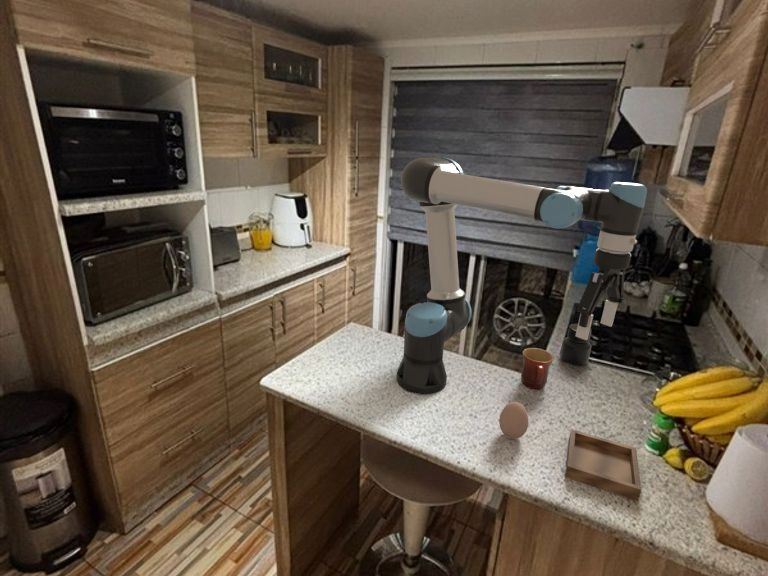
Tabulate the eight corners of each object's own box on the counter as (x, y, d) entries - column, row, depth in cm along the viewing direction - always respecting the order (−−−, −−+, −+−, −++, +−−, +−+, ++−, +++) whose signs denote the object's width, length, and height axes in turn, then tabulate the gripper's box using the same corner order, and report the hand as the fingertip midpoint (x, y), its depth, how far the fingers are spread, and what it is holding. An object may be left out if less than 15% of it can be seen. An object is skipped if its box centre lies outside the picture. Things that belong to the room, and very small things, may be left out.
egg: (530, 437, 104) (536, 404, 100) (516, 450, 99) (522, 415, 96) (506, 424, 108) (511, 392, 105) (491, 435, 104) (496, 402, 100)
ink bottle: (592, 360, 142) (600, 328, 138) (583, 369, 136) (591, 336, 132) (564, 350, 148) (570, 319, 144) (554, 359, 142) (560, 327, 138)
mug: (516, 375, 131) (521, 346, 128) (545, 379, 130) (551, 349, 126) (520, 396, 120) (525, 365, 117) (552, 401, 119) (558, 369, 115)
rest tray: (565, 476, 92) (567, 466, 91) (568, 439, 103) (571, 429, 102) (637, 501, 86) (641, 490, 85) (633, 458, 98) (636, 447, 97)
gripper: (606, 261, 88) (585, 350, 96) (651, 247, 104) (629, 324, 111) (572, 253, 94) (555, 338, 101) (619, 240, 109) (601, 315, 116)
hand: (594, 331), depth 106 cm, fingers open, 13 cm apart
